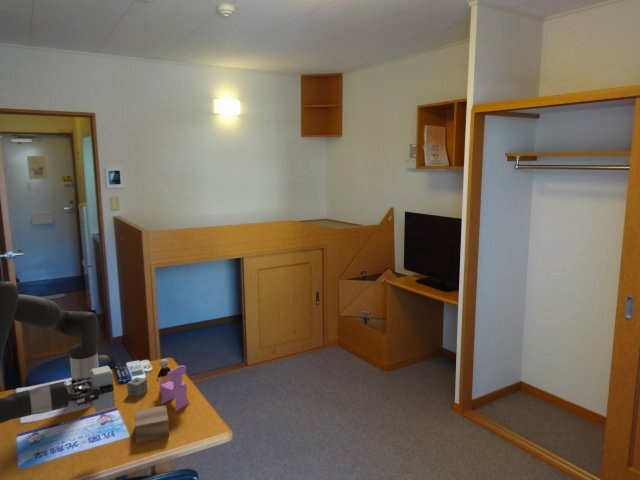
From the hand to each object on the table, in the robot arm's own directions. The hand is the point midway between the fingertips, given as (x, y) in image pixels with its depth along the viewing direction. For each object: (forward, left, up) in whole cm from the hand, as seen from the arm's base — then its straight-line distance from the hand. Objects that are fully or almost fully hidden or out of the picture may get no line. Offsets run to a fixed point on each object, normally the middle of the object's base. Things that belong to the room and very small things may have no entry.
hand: (111, 383), depth 148 cm
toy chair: (-14, +23, -20) cm, 34 cm away
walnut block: (0, +11, -20) cm, 23 cm away
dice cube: (-29, +14, -20) cm, 38 cm away
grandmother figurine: (-26, +23, -20) cm, 40 cm away
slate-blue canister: (0, -3, -6) cm, 7 cm away
